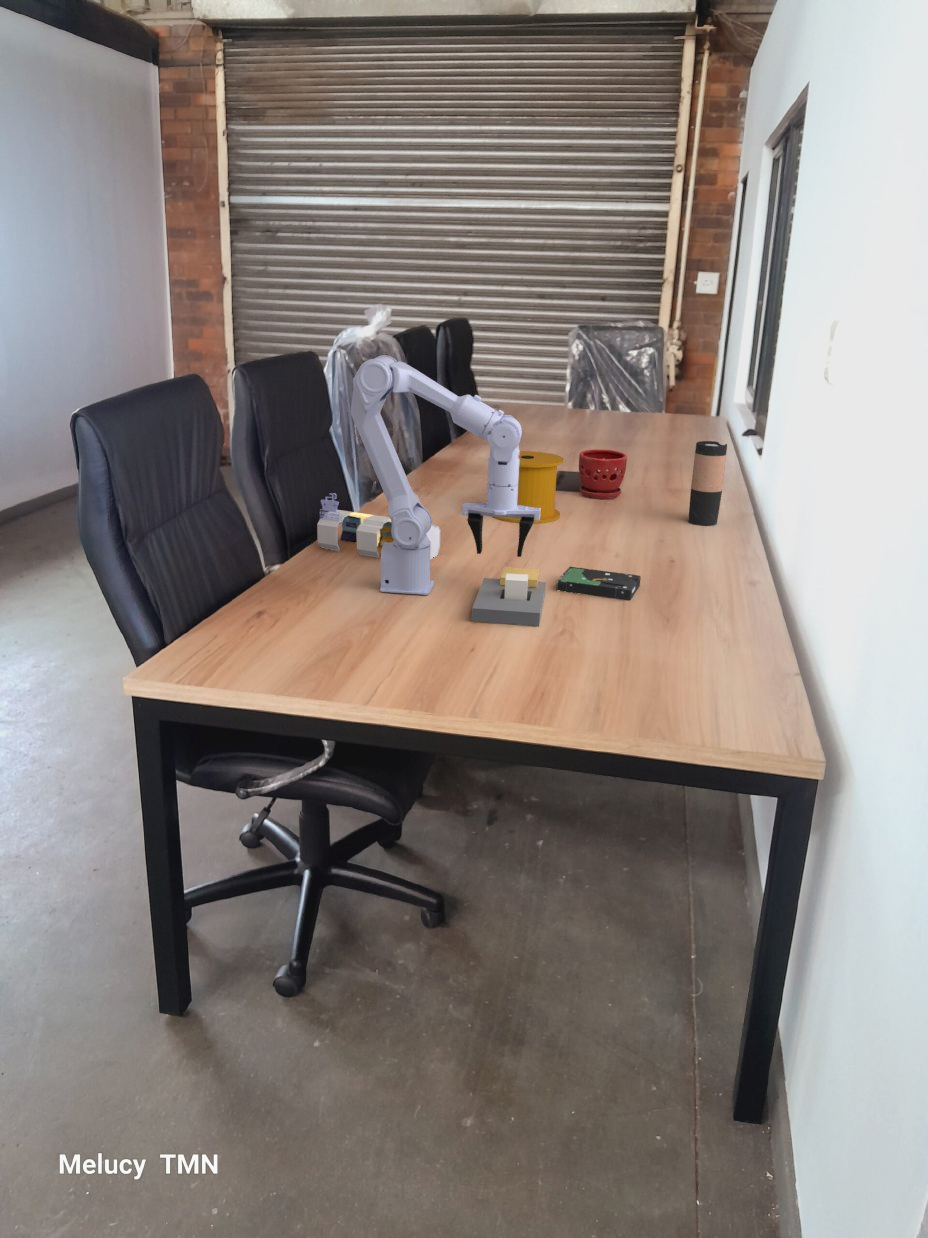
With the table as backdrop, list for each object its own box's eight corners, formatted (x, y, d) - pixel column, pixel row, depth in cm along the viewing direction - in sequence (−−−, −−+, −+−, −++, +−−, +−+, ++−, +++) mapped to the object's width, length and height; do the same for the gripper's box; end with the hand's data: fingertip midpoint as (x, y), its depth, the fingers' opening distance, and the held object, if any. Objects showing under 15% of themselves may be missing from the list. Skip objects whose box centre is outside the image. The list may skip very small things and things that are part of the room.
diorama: (317, 550, 210) (315, 492, 206) (342, 539, 219) (341, 483, 215) (417, 567, 200) (418, 506, 196) (439, 555, 209) (440, 496, 205)
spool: (562, 524, 236) (566, 464, 231) (489, 522, 237) (492, 462, 231) (557, 507, 253) (560, 451, 248) (489, 505, 253) (491, 449, 248)
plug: (505, 603, 179) (506, 573, 177) (526, 605, 179) (528, 574, 177) (503, 610, 176) (505, 579, 174) (525, 612, 175) (527, 581, 173)
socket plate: (471, 621, 170) (472, 608, 169) (483, 589, 187) (484, 577, 186) (539, 626, 168) (539, 613, 167) (545, 594, 185) (545, 582, 184)
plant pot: (567, 492, 271) (570, 450, 266) (607, 489, 276) (610, 447, 272) (592, 502, 259) (595, 458, 255) (632, 499, 265) (636, 456, 261)
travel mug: (686, 524, 239) (695, 444, 233) (687, 517, 246) (696, 439, 240) (718, 527, 238) (728, 447, 231) (718, 520, 245) (727, 441, 238)
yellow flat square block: (499, 584, 181) (500, 577, 181) (503, 574, 188) (503, 566, 187) (536, 587, 181) (537, 579, 180) (539, 576, 187) (539, 569, 187)
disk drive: (639, 588, 192) (568, 578, 197) (641, 575, 191) (569, 565, 196) (630, 603, 183) (555, 592, 188) (632, 590, 182) (556, 579, 187)
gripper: (460, 485, 174) (458, 556, 179) (540, 490, 172) (535, 562, 177) (466, 477, 181) (464, 546, 185) (543, 482, 179) (538, 552, 183)
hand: (499, 553), depth 182 cm, fingers open, 7 cm apart
